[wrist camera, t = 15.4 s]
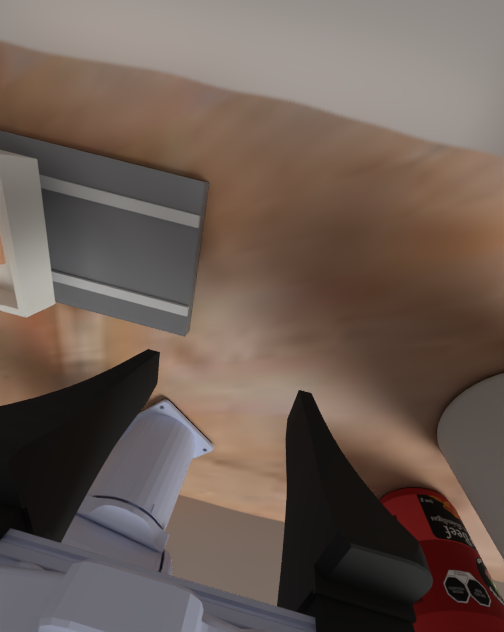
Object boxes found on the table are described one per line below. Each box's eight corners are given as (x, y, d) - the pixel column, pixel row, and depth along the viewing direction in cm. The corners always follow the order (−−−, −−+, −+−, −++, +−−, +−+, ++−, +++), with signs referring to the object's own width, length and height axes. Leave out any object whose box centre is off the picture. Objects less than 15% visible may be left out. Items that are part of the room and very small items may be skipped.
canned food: (465, 516, 29) (557, 687, 19) (395, 534, 32) (442, 690, 22) (431, 476, 27) (513, 641, 17) (360, 498, 30) (395, 651, 20)
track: (209, 182, 18) (194, 181, 15) (189, 331, 23) (175, 349, 21) (-91, 107, 19) (-156, 92, 16) (-44, 268, 24) (-87, 278, 21)
